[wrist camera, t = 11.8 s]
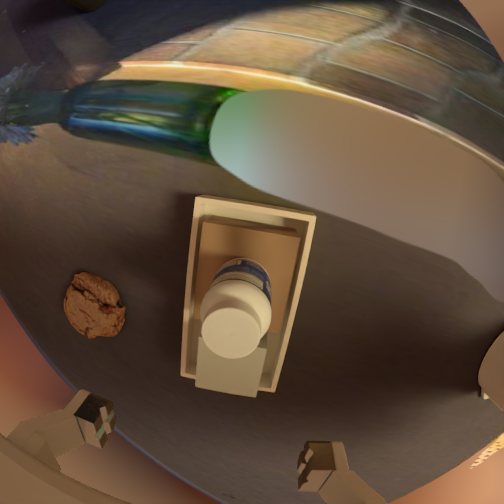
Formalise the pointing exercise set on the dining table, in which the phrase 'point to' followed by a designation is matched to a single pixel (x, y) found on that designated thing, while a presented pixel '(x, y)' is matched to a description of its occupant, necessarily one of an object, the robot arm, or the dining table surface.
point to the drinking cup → (87, 4)
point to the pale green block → (230, 370)
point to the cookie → (94, 306)
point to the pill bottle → (236, 308)
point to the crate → (305, 229)
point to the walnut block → (252, 247)
